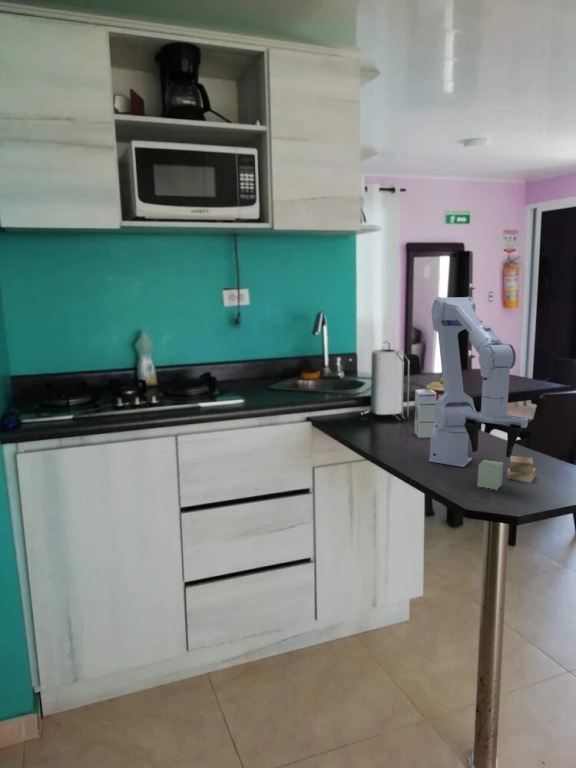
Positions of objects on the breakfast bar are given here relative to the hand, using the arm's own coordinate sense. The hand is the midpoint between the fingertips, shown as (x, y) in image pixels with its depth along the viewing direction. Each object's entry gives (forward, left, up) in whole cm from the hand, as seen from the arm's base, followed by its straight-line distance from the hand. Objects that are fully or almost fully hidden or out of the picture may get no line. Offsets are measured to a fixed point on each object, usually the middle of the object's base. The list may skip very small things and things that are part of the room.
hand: (491, 453), depth 132 cm
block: (0, 0, -8) cm, 8 cm away
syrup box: (-29, +36, -8) cm, 47 cm away
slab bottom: (+5, +10, -8) cm, 14 cm away
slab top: (+5, +10, -6) cm, 12 cm away
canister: (-27, +47, -8) cm, 55 cm away
